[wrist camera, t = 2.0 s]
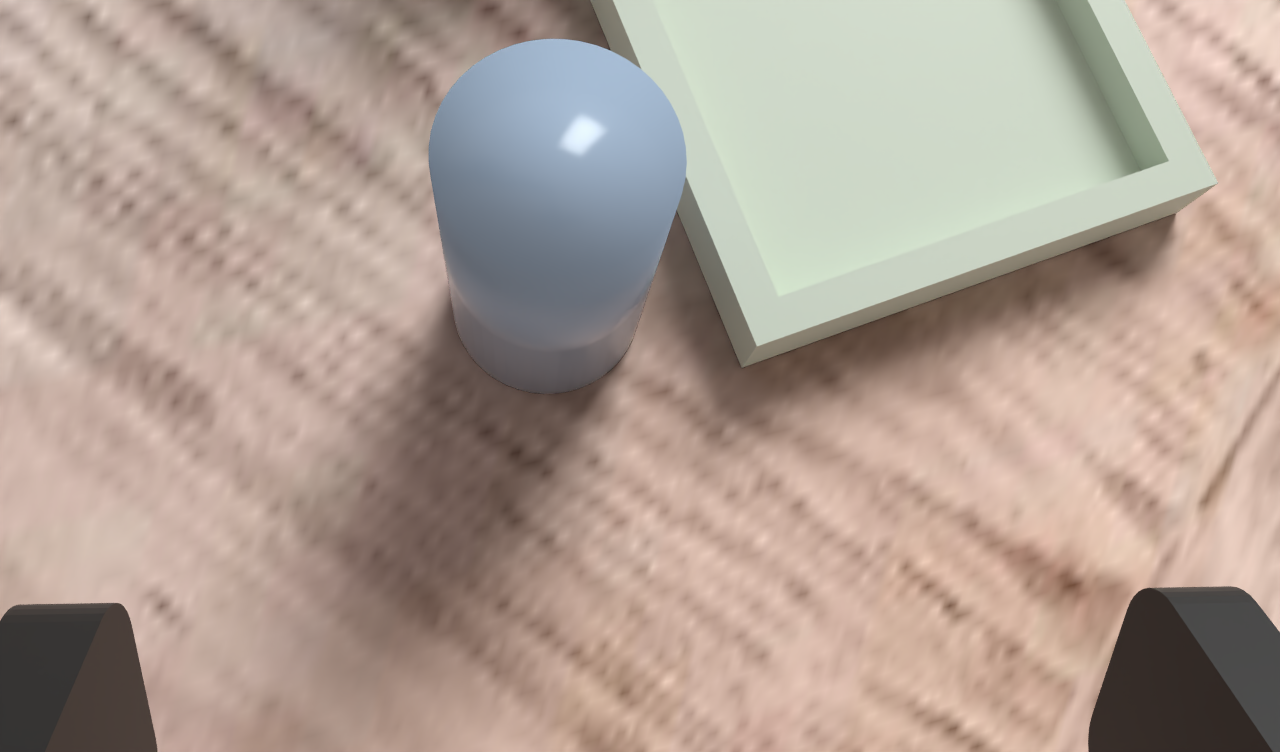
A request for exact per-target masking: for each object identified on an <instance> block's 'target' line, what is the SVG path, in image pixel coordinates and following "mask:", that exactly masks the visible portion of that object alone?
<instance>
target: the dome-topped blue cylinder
mask: <svg viewBox="0 0 1280 752" xmlns="http://www.w3.org/2000/svg"><path fill="white" fill-rule="evenodd" d="M686 167H687V158H686V145H685V140H684V135H683V131H682V128H681V125H680V122H679V119H678V117H677V115H676V113H675V111H674V109H673V107H672V105H671V103H670V102H669V100H668V99H667V97H666V96H665V94H664V93H663V91H662V90H661V89H660V88H659V87H658V85H657V84H656V83H655V82H654V81H653V80H652V79H651V78H650V77H649V76H648V75H647V74H646V73H645V72H644V71H642V70H641V69H640V68H639V67H637V66H636V65H635V64H633V63H632V62H630V61H629V60H627V59H626V58H624V57H622V56H620V55H618V54H616V53H614V52H612V51H610V50H607V49H605V48H602V47H600V46H597V45H593V44H589V43H585V42H581V41H575V40H567V39H542V40H532V41H527V42H523V43H519V44H515V45H512V46H509V47H506V48H504V49H501V50H499V51H497V52H495V53H493V54H491V55H489V56H487V57H485V58H484V59H482V60H481V61H479V62H478V63H476V64H475V65H473V66H472V67H471V68H470V69H469V70H468V71H467V72H465V73H464V74H463V75H462V76H461V77H460V78H459V79H458V80H457V82H456V83H455V84H454V85H453V86H452V88H451V89H450V90H449V92H448V93H447V95H446V96H445V98H444V100H443V101H442V103H441V105H440V107H439V110H438V112H437V114H436V116H435V120H434V123H433V126H432V130H431V135H430V142H429V168H430V175H431V181H432V187H433V193H434V199H435V205H436V211H437V217H438V223H439V229H440V235H441V241H442V247H443V254H444V260H445V266H446V272H447V278H448V284H449V290H450V296H451V302H452V308H453V314H454V320H455V324H456V328H457V331H458V334H459V336H460V339H461V341H462V343H463V345H464V347H465V348H466V350H467V352H468V353H469V355H470V356H471V357H472V358H473V360H474V361H475V362H476V363H477V364H478V365H479V366H480V367H481V368H482V369H483V370H484V371H485V372H486V373H488V374H489V375H491V376H492V377H493V378H495V379H496V380H498V381H500V382H502V383H504V384H506V385H508V386H510V387H513V388H516V389H518V390H522V391H526V392H531V393H540V394H556V393H563V392H569V391H572V390H576V389H579V388H582V387H584V386H586V385H589V384H591V383H593V382H594V381H596V380H598V379H600V378H601V377H602V376H604V375H605V374H606V373H608V372H609V371H610V370H611V369H612V368H613V367H614V366H615V365H616V364H617V363H618V362H619V361H620V359H621V358H622V357H623V355H624V354H625V353H626V351H627V349H628V347H629V346H630V344H631V342H632V339H633V337H634V334H635V332H636V329H637V326H638V323H639V320H640V317H641V314H642V311H643V308H644V305H645V302H646V299H647V296H648V293H649V290H650V287H651V284H652V281H653V278H654V275H655V272H656V269H657V266H658V263H659V260H660V257H661V254H662V251H663V249H664V246H665V243H666V240H667V237H668V234H669V231H670V228H671V225H672V222H673V219H674V216H675V213H676V210H677V207H678V204H679V201H680V198H681V195H682V191H683V187H684V183H685V178H686Z"/></svg>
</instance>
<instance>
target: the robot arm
mask: <svg viewBox="0 0 1280 752" xmlns="http://www.w3.org/2000/svg"><path fill="white" fill-rule="evenodd" d="M1088 747H1089V752H1280V632H1279V631H1278V630H1277V628H1276V627H1275V626H1274V624H1273V623H1272V622H1271V621H1270V619H1269V618H1268V617H1267V615H1266V614H1265V613H1264V611H1263V610H1262V609H1261V608H1260V606H1259V605H1258V604H1257V602H1256V601H1255V600H1254V599H1253V598H1252V597H1251V596H1250V595H1249V594H1248V593H1246V592H1245V591H1244V590H1242V589H1239V588H1237V587H1176V588H1146V589H1143V590H1141V591H1139V592H1138V593H1137V594H1136V595H1135V596H1134V597H1133V599H1132V600H1131V602H1130V604H1129V607H1128V609H1127V612H1126V615H1125V618H1124V621H1123V624H1122V627H1121V630H1120V633H1119V636H1118V639H1117V642H1116V645H1115V648H1114V651H1113V654H1112V657H1111V660H1110V663H1109V666H1108V669H1107V672H1106V675H1105V678H1104V681H1103V684H1102V687H1101V690H1100V693H1099V696H1098V699H1097V702H1096V705H1095V708H1094V711H1093V714H1092V718H1091V722H1090V727H1089V738H1088ZM0 752H157V744H156V738H155V733H154V729H153V724H152V719H151V714H150V710H149V705H148V700H147V696H146V691H145V686H144V681H143V677H142V672H141V667H140V662H139V658H138V653H137V648H136V644H135V639H134V634H133V629H132V625H131V621H130V618H129V615H128V613H127V611H126V609H125V608H124V606H122V605H121V604H119V603H90V604H32V605H16V606H13V607H12V608H10V609H9V610H8V611H7V612H6V613H5V614H4V616H3V617H2V619H1V621H0Z"/></svg>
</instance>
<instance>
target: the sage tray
mask: <svg viewBox="0 0 1280 752" xmlns="http://www.w3.org/2000/svg"><path fill="white" fill-rule="evenodd" d="M590 1H591V3H592V6H593V8H594V11H595V13H596V15H597V18H598V20H599V23H600V25H601V28H602V30H603V32H604V35H605V37H606V40H607V42H608V45H609V47H610V49H611V51H612V52H614V53H616V54H618V55H620V56H622V57H624V58H626V59H627V60H629V61H630V62H632V63H633V64H635V65H636V66H637V67H639V68H640V69H641V70H642V71H644V72H645V73H646V74H647V75H648V76H649V77H650V78H651V79H652V80H653V81H654V82H655V83H656V84H657V85H658V87H659V88H660V89H661V90H662V91H663V93H664V94H665V96H666V97H667V99H668V100H669V102H670V103H671V105H672V107H673V109H674V111H675V113H676V115H677V117H678V119H679V122H680V125H681V128H682V131H683V135H684V140H685V145H686V158H687V167H686V178H685V183H684V187H683V191H682V195H681V198H680V201H679V204H678V207H677V212H678V215H679V217H680V219H681V222H682V224H683V227H684V229H685V232H686V234H687V236H688V239H689V241H690V244H691V246H692V249H693V251H694V253H695V256H696V258H697V261H698V263H699V266H700V268H701V270H702V273H703V275H704V278H705V280H706V283H707V285H708V287H709V290H710V292H711V295H712V297H713V300H714V302H715V304H716V307H717V309H718V312H719V314H720V317H721V319H722V321H723V324H724V326H725V329H726V331H727V334H728V336H729V338H730V341H731V343H732V346H733V348H734V351H735V353H736V355H737V358H738V360H739V363H740V365H741V368H743V367H746V366H748V365H751V364H754V363H757V362H760V361H763V360H765V359H768V358H771V357H774V356H777V355H779V354H782V353H785V352H788V351H791V350H793V349H796V348H799V347H802V346H805V345H807V344H810V343H813V342H816V341H819V340H821V339H824V338H827V337H830V336H833V335H835V334H838V333H841V332H844V331H847V330H849V329H852V328H855V327H858V326H861V325H864V324H866V323H869V322H872V321H875V320H878V319H880V318H883V317H886V316H889V315H892V314H894V313H897V312H900V311H903V310H906V309H908V308H911V307H914V306H917V305H920V304H922V303H925V302H928V301H931V300H934V299H936V298H939V297H942V296H945V295H948V294H950V293H953V292H956V291H959V290H962V289H965V288H967V287H970V286H973V285H976V284H979V283H981V282H984V281H987V280H990V279H993V278H995V277H998V276H1001V275H1004V274H1007V273H1009V272H1012V271H1015V270H1018V269H1021V268H1023V267H1026V266H1029V265H1032V264H1035V263H1037V262H1040V261H1043V260H1046V259H1049V258H1051V257H1054V256H1057V255H1060V254H1063V253H1066V252H1068V251H1071V250H1074V249H1077V248H1080V247H1082V246H1085V245H1088V244H1091V243H1094V242H1096V241H1099V240H1102V239H1105V238H1108V237H1110V236H1113V235H1116V234H1119V233H1122V232H1124V231H1127V230H1130V229H1133V228H1136V227H1138V226H1141V225H1144V224H1147V223H1150V222H1152V221H1155V220H1158V219H1161V218H1164V217H1167V216H1169V215H1172V214H1175V213H1177V212H1179V211H1180V210H1181V209H1183V208H1184V207H1186V206H1187V205H1188V204H1190V203H1191V202H1193V201H1194V200H1195V199H1197V198H1198V197H1200V196H1201V195H1202V194H1204V193H1205V192H1207V191H1208V190H1209V189H1211V188H1212V187H1214V186H1215V185H1216V184H1218V182H1217V180H1216V178H1215V176H1214V174H1213V172H1212V170H1211V168H1210V166H1209V164H1208V162H1207V160H1206V159H1205V157H1204V155H1203V153H1202V151H1201V149H1200V147H1199V145H1198V143H1197V141H1196V139H1195V137H1194V135H1193V133H1192V131H1191V129H1190V127H1189V125H1188V123H1187V121H1186V119H1185V118H1184V116H1183V114H1182V112H1181V110H1180V108H1179V106H1178V104H1177V102H1176V100H1175V98H1174V96H1173V94H1172V92H1171V90H1170V88H1169V86H1168V84H1167V82H1166V80H1165V79H1164V77H1163V75H1162V73H1161V71H1160V69H1159V67H1158V65H1157V63H1156V61H1155V59H1154V57H1153V55H1152V53H1151V51H1150V49H1149V47H1148V45H1147V43H1146V41H1145V39H1144V38H1143V36H1142V34H1141V32H1140V30H1139V28H1138V26H1137V24H1136V22H1135V20H1134V18H1133V16H1132V14H1131V12H1130V10H1129V8H1128V6H1127V4H1126V2H1125V0H590Z"/></svg>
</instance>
